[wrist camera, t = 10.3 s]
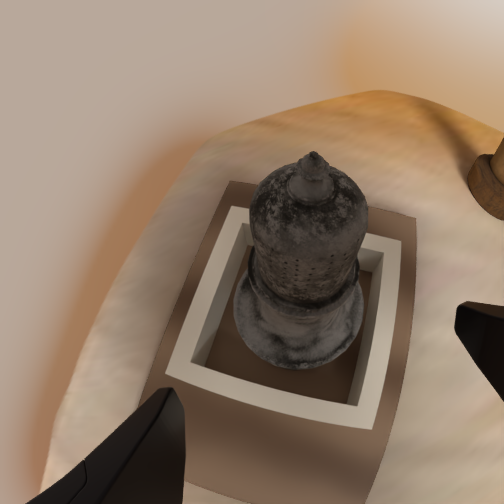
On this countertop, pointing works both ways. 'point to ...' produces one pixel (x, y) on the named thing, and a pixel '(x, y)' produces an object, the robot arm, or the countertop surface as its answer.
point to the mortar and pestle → (489, 182)
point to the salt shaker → (303, 266)
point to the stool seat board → (286, 374)
